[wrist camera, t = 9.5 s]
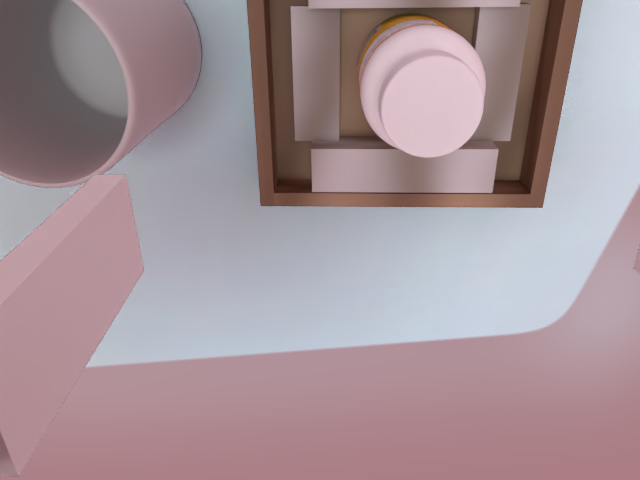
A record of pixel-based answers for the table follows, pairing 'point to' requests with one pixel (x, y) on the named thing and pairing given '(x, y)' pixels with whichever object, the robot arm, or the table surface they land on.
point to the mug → (88, 82)
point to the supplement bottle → (420, 85)
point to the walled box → (357, 135)
